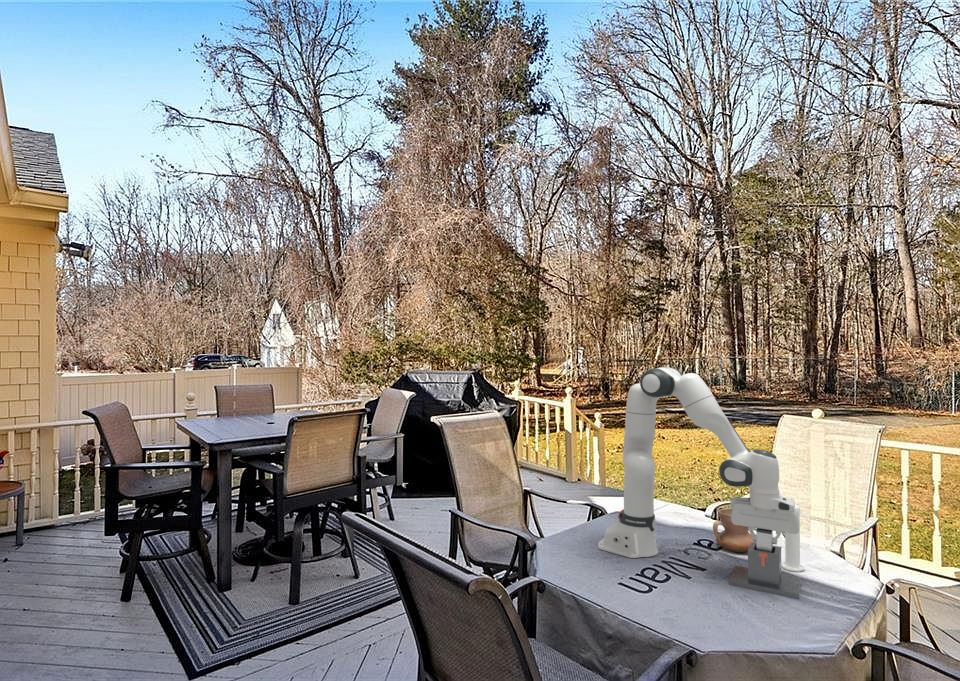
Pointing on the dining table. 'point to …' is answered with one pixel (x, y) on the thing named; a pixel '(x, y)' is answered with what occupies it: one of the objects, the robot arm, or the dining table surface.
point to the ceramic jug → (732, 533)
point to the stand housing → (765, 574)
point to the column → (764, 540)
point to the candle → (793, 549)
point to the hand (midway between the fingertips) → (764, 542)
